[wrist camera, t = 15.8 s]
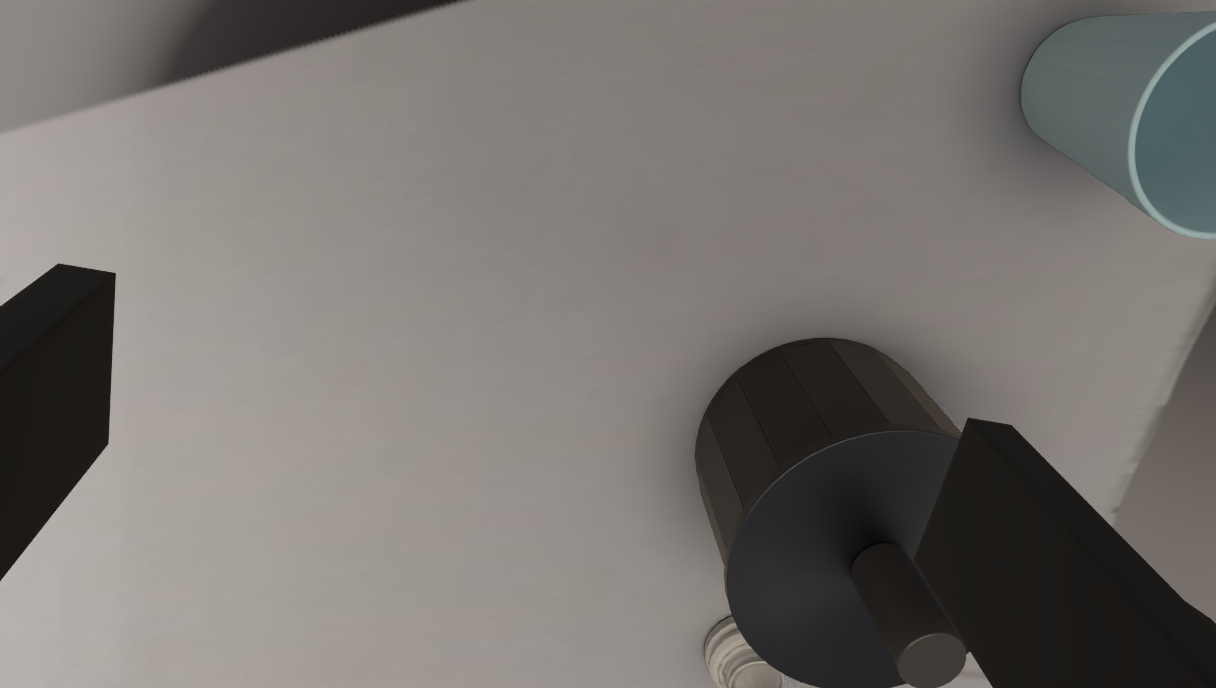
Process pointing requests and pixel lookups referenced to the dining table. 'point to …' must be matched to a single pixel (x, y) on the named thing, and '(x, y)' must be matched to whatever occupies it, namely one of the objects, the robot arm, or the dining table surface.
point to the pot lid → (846, 563)
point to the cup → (1135, 110)
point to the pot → (797, 416)
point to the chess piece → (737, 660)
